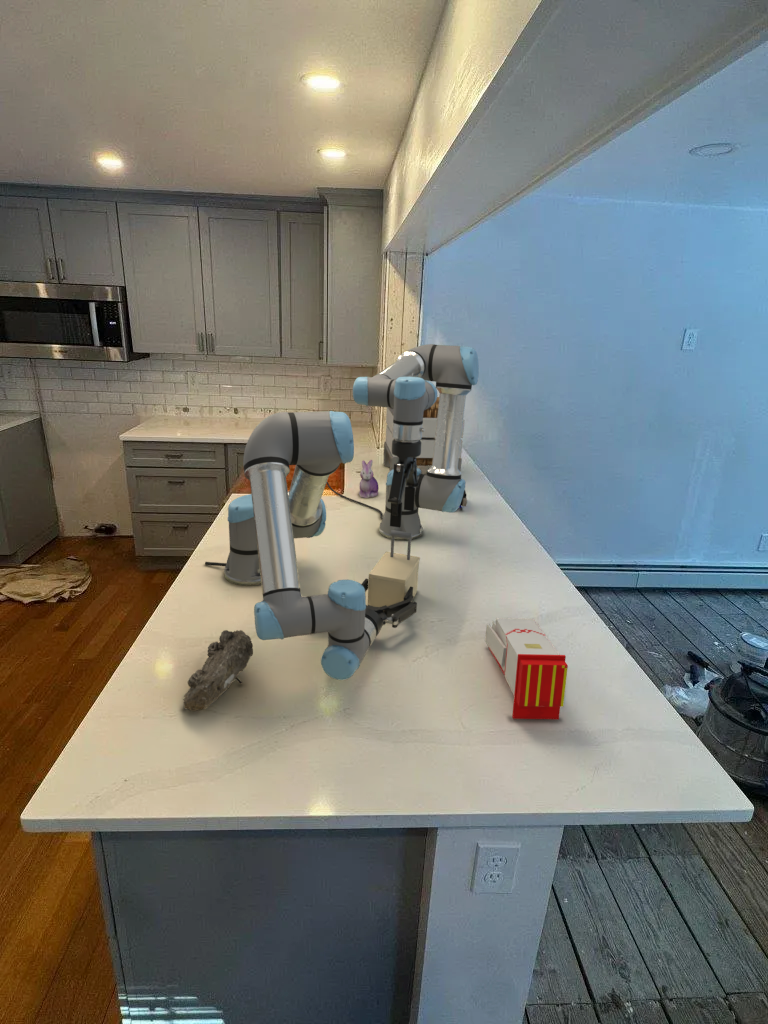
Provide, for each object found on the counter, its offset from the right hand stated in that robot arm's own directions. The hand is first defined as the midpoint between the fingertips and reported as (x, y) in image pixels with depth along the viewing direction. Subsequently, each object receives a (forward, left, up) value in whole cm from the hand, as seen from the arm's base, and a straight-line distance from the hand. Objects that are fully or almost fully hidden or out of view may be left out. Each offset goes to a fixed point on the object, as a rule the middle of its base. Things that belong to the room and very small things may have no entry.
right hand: (402, 517), depth 151 cm
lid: (+3, -4, -13) cm, 14 cm away
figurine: (-72, +48, -22) cm, 89 cm away
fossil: (+8, -56, -22) cm, 61 cm away
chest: (+3, -4, -22) cm, 23 cm away
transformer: (-85, +90, -22) cm, 126 cm away
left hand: (+5, -9, -16) cm, 19 cm away
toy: (+45, -5, -22) cm, 50 cm away
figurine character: (-41, +69, -22) cm, 83 cm away
